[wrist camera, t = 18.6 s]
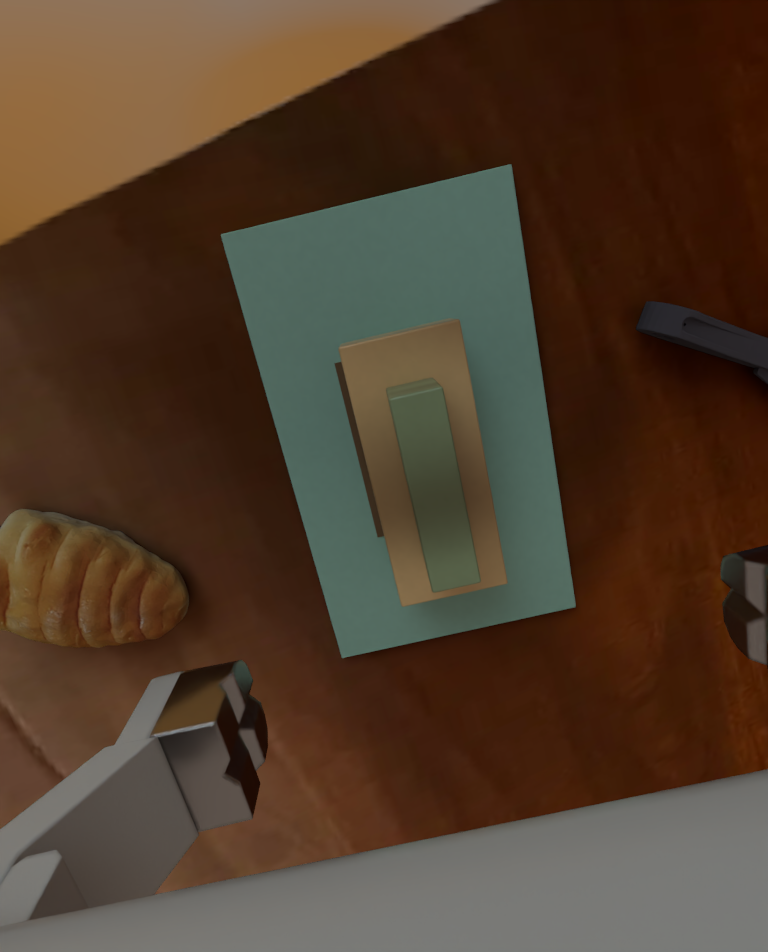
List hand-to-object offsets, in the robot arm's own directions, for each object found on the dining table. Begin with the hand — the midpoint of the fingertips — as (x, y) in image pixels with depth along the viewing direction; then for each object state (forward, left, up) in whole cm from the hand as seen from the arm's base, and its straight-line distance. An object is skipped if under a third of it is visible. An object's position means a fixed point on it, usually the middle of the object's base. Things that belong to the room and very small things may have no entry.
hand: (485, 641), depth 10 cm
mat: (+1, 0, -19) cm, 19 cm away
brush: (+2, 0, -19) cm, 19 cm away
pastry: (+4, -18, -20) cm, 27 cm away
